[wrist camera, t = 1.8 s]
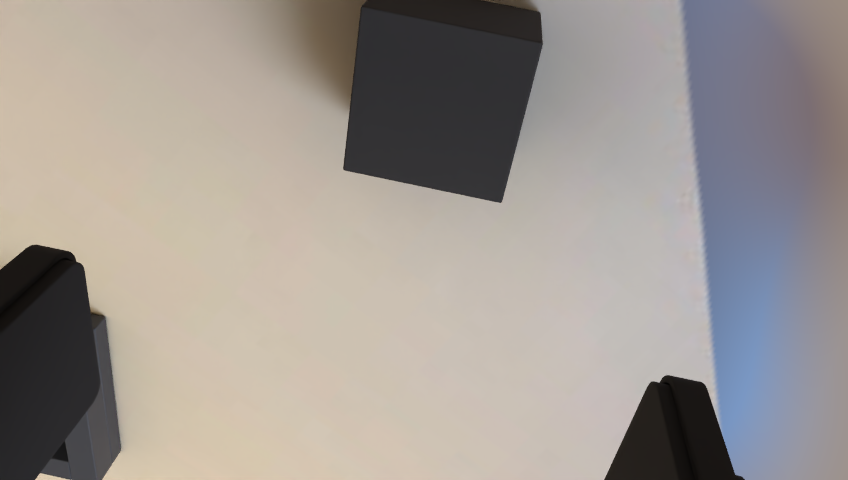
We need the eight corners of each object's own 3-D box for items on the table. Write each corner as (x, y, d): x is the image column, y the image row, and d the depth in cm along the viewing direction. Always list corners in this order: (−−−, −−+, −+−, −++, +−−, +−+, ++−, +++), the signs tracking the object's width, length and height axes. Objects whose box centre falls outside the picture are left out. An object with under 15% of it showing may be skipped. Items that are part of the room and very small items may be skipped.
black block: (366, 127, 26) (342, 170, 23) (385, -20, 23) (360, 5, 20) (504, 155, 26) (501, 203, 23) (540, 11, 23) (543, 42, 20)
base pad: (-45, 413, 39) (-79, 446, 37) (-88, 274, 33) (-130, 304, 31) (121, 450, 38) (98, 486, 36) (105, 316, 33) (76, 349, 31)
